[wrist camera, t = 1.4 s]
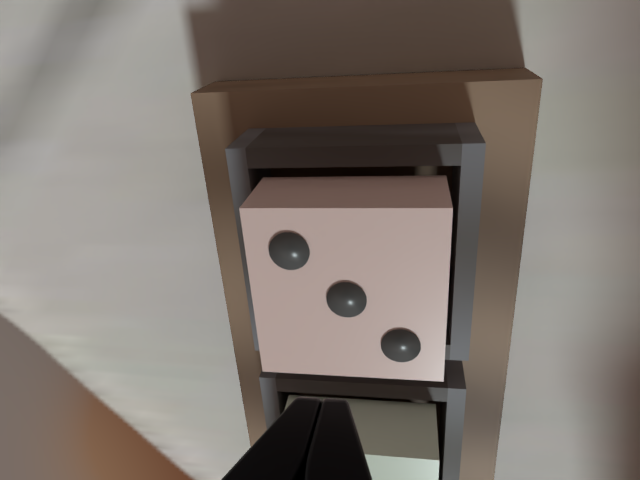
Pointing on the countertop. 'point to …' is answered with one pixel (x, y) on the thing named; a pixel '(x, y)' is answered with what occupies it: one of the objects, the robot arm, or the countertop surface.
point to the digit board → (388, 160)
